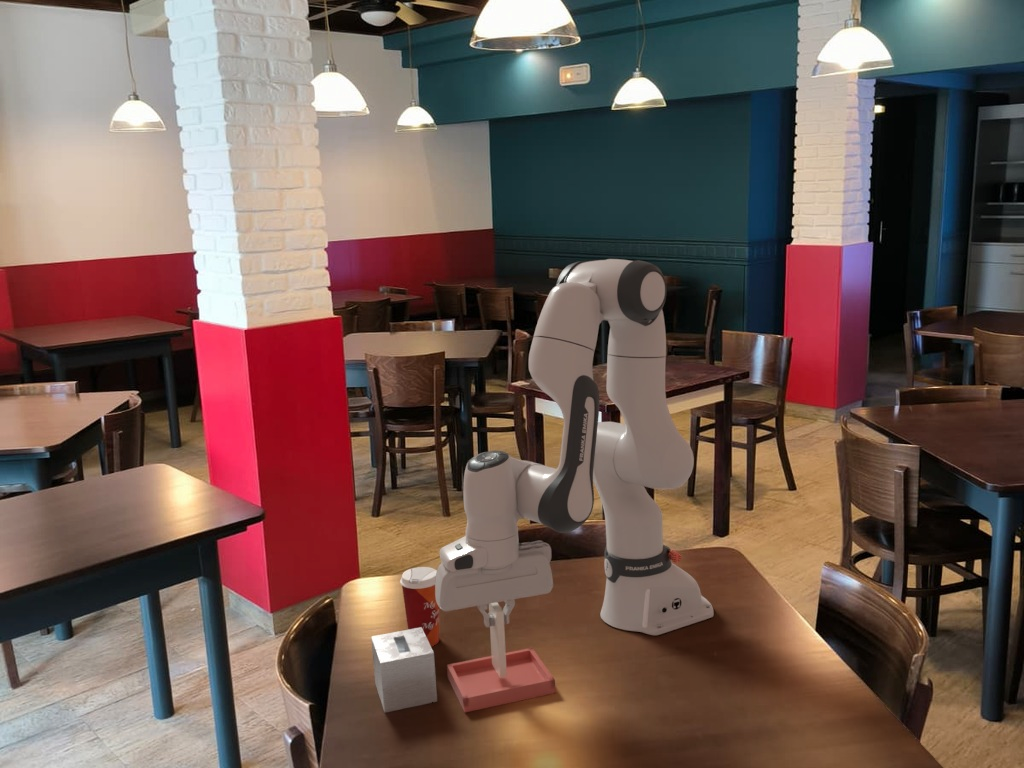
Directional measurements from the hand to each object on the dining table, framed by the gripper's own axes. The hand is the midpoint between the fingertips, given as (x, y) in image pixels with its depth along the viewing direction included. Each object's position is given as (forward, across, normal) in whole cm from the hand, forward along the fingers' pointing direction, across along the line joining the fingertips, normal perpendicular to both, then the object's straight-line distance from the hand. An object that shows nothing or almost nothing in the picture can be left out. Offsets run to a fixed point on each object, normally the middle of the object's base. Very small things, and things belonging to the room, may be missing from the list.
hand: (496, 624), depth 153 cm
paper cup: (+12, +9, -21) cm, 26 cm away
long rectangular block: (+9, 0, 0) cm, 9 cm away
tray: (+12, 0, 0) cm, 12 cm away
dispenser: (+12, +16, -4) cm, 20 cm away
